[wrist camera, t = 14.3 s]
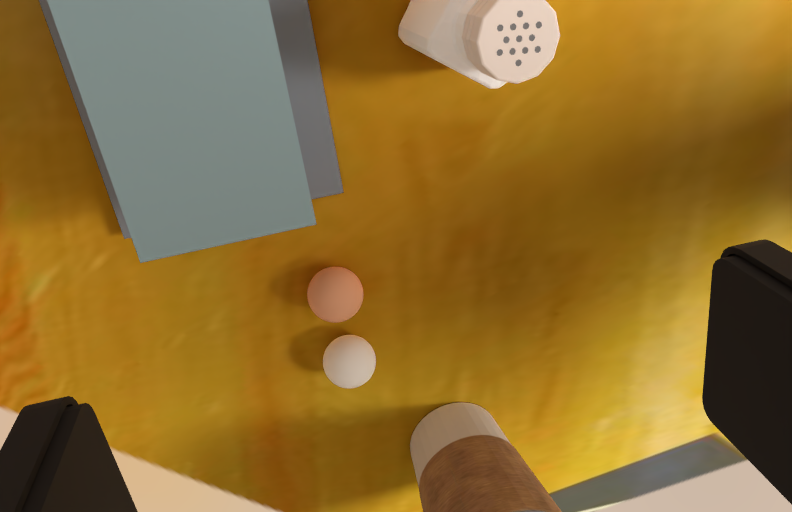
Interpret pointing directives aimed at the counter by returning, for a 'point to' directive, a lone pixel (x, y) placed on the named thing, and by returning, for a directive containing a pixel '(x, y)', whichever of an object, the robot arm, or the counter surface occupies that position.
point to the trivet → (302, 90)
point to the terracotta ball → (335, 294)
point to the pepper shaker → (484, 37)
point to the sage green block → (189, 118)
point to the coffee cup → (472, 465)
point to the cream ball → (349, 361)
